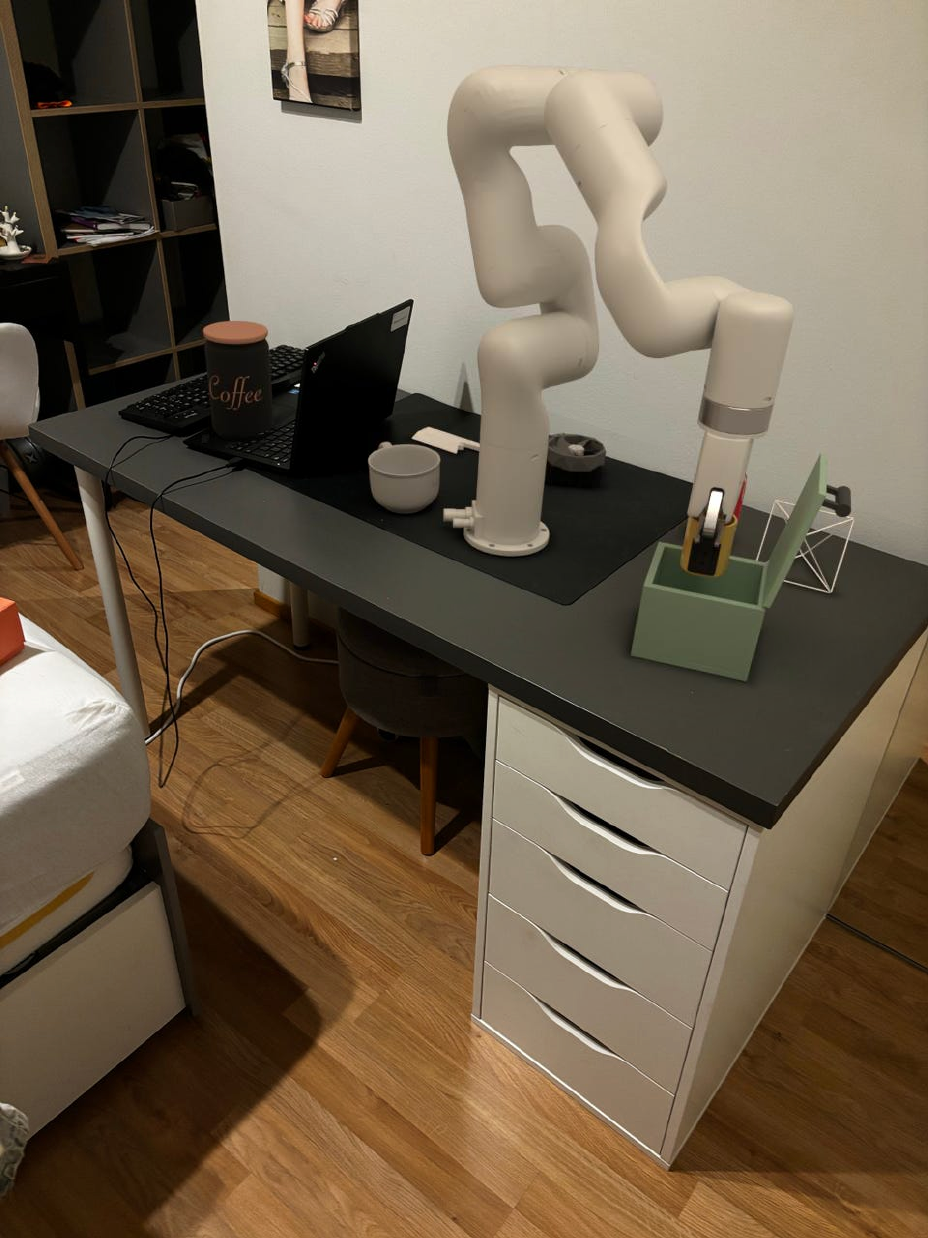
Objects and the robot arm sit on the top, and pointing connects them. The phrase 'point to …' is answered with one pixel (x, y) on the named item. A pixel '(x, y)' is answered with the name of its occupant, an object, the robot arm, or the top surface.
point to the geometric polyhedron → (813, 546)
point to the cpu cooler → (574, 459)
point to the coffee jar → (239, 379)
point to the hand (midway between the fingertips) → (704, 559)
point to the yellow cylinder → (725, 539)
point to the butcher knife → (444, 440)
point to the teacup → (404, 477)
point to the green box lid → (803, 524)
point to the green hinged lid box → (701, 615)
